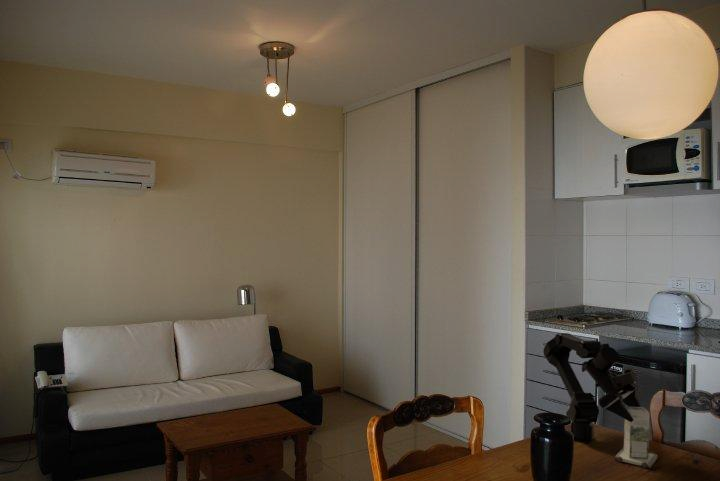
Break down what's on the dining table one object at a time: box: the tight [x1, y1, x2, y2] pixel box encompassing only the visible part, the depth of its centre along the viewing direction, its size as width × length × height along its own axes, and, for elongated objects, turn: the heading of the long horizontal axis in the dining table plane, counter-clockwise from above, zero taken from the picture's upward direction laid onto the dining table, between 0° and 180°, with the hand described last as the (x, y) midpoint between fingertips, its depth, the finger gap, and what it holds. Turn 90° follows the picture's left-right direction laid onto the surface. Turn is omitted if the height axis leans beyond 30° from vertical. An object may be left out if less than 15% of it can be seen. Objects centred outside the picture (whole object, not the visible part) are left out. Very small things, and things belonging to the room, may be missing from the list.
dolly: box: [614, 447, 658, 469], centre depth 181 cm, size 10×11×2 cm
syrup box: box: [623, 406, 651, 459], centre depth 182 cm, size 6×6×14 cm
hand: (637, 417), depth 181 cm, fingers open, 9 cm apart
